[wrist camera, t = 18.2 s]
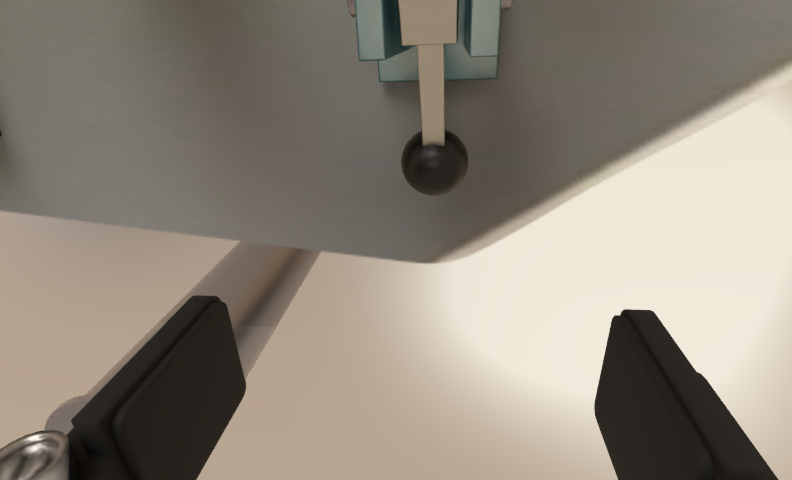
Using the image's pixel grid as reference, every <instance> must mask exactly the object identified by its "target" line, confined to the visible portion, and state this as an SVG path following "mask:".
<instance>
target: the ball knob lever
mask: <svg viewBox="0 0 792 480" xmlns="http://www.w3.org/2000/svg"><path fill="white" fill-rule="evenodd" d="M397 9H398V20H399V30H400V41H401V45H402V46H411V45H417V59H418V76H419V92H420V109H421V125H422V131H421V132H419V133H417V134H416V135H414V136H413V137H412V138H411V139H410V140H409V141H408V143H407V144H406V146H405V148H404V151H403V154H402V160H401V164H402V171H403V174H404V176H405V178H406V180H407V182H408V183H409V184H410V185H411V186H412V187H413V188H414V189H415V190H417V191H419V192H420V193H423V194H426V195H433V196H435V195H442V194H446V193H448V192H450V191H452V190H453V189H455V188H456V187H457V186H458V185H459V184H460V183H461V181H462V180H463V178H464V176H465V174H466V172H467V168H468V155H467V151H466V148H465V146H464V144H463V143H462V141H461V140H460V139H459V138H458V137H457V136H456V135H455V134H453V133H452V132H450V131H448V130H445V57H444V44H456V43H457V42H458V24H459V0H397Z"/></svg>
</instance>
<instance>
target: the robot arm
mask: <svg viewBox="0 0 792 480" xmlns="http://www.w3.org/2000/svg"><path fill="white" fill-rule="evenodd" d="M245 389H246V382H245V377H244V373H243V369H242V365H241V361H240V357H239V353H238V349H237V345H236V341H235V337H234V333H233V329H232V325H231V321H230V317H229V313H228V309H227V306H226V304H225V303H224V302H221V300H220V299H219V298H218V297H216V296H193V297H191V298H190V299H189V300H188V301H187V302H186V303H185V304H184V305H183V306H182V307H181V308H180V309H179V310H178V311H177V312H176V313H175V314H174V315H173V316H172V317H171V318H170V319H169V320H168V321H167V322H166V323H165V324H164V325H163V326H162V327H161V329H160V330H159V331H158V332H157V333H156V334H155V335H154V336H153V337H152V338H151V339H150V340H149V341H148V342H147V343H146V344H145V345H144V346H143V347H142V348H141V349H140V350H139V351H138V352H137V353H136V354H135V355H134V356H133V357H132V358H131V359H130V360H129V361H128V362H127V363H126V364H125V365H124V366H123V367H122V368H121V369H120V370H119V371H118V372H117V373H116V375H115V376H114V377H113V378H112V379H111V380H110V381H109V382H108V383H107V384H106V385H105V386H104V387H103V388H102V389H101V390H100V391H99V392H98V393H97V394H96V395H95V396H94V397H93V398H92V399H91V400H90V401H89V402H88V403H87V404H86V405H85V406H84V407H83V408H82V409H81V410H80V411H79V412H78V413H77V414H76V415H75V416H74V417H73V418H72V419H71V423H72V425H73V427H74V428H73V429H72V430H71V431H70V432H69V433H68V434H67V435H65V434H64V433H63V432H61V431H56V430H45V431H39V432H35V433H32V434H29V435H26V436H24V437H22V438H19V439H17V440H15V441H13V442H11V443H9V444H8V445H6V446H5V447H3V448H2V449H0V480H196V479H197V477H198V476H199V474H200V472H201V470H202V469H203V467H204V465H205V463H206V462H207V460H208V458H209V456H210V455H211V452H212V451H213V449H214V447H215V446H216V444H217V442H218V440H219V439H220V437H221V435H222V433H223V432H224V430H225V428H226V427H227V425H228V423H229V421H230V420H231V418H232V416H233V414H234V413H235V411H236V409H237V407H238V406H239V404H240V402H241V400H242V399H243V396H244V394H245ZM595 416H596V420H597V422H598V425H599V428H600V431H601V434H602V436H603V439H604V442H605V444H606V447H607V450H608V452H609V455H610V458H611V461H612V464H613V466H614V469H615V472H616V475H617V477H618V480H778V479H777V477H776V476H775V475H774V473H773V472H772V471H771V469H770V468H769V466H768V465H767V463H766V462H765V461H764V459H763V458H762V456H761V455H760V454H759V452H758V451H757V449H756V448H755V447H754V445H753V444H752V442H751V441H750V440H749V438H748V437H747V435H746V434H745V433H744V431H743V430H742V429H741V427H740V426H739V424H738V423H737V422H736V420H735V419H734V417H733V416H732V415H731V413H730V412H729V410H728V409H727V408H726V406H725V405H724V404H723V402H722V401H721V399H720V398H719V397H718V395H717V394H716V393H715V391H714V390H713V388H712V387H711V385H710V384H709V383H708V381H707V380H706V379H705V378H704V377H703V376H702V375H701V374H700V373H698V372H696V371H695V369H694V368H693V367H692V365H691V364H690V362H689V361H688V360H687V358H686V357H685V355H684V354H683V352H682V351H681V350H680V348H679V347H678V345H677V344H676V343H675V341H674V340H673V338H672V337H671V335H670V334H669V333H668V331H667V330H666V328H665V327H664V326H663V324H662V323H661V321H660V320H659V319H658V317H657V316H656V315H655V313H654V312H653V311H650V310H623V311H622V312H621V315H620V316H614V317H613V319H612V322H611V327H610V332H609V337H608V341H607V347H606V351H605V356H604V360H603V365H602V370H601V375H600V380H599V385H598V389H597V394H596V399H595Z"/></svg>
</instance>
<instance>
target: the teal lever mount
mask: <svg viewBox="0 0 792 480" xmlns="http://www.w3.org/2000/svg"><path fill="white" fill-rule="evenodd" d="M347 2H348V8H349V12H350V14H351V16H352V17H356V27H357V41H358V55H359V61H378V71H379V82H407V81H419V76H418V59H417V45H411V46H402V45H401V41H400V30H399V20H398V9H397V0H347ZM511 5H512V0H459V24H458V42H457V43H456V44H444V57H445V80H473V79H496V78H497V76H498V58H499V40H500V22H501V10H509V9H510V8H511Z"/></svg>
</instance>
